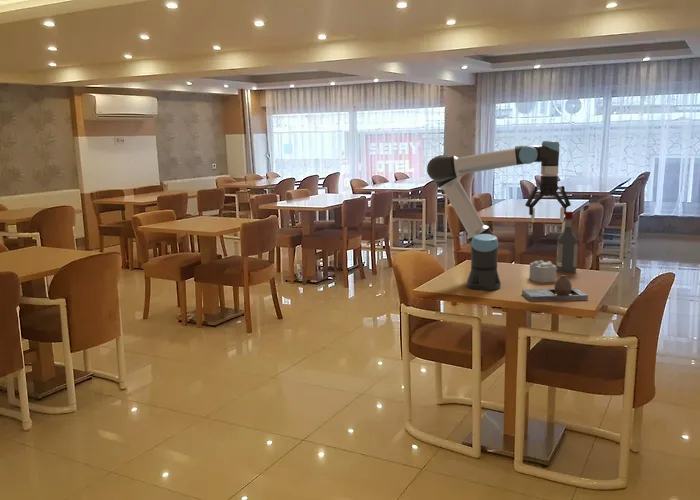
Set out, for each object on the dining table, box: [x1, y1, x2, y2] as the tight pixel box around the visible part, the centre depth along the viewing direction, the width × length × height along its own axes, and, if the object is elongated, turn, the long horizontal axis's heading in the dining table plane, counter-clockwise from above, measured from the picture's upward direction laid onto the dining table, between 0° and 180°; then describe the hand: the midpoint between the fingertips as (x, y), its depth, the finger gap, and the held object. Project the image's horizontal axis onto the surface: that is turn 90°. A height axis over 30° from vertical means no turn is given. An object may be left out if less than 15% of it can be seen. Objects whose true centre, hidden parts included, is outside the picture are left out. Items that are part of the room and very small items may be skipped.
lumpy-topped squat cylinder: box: [528, 259, 557, 283], centre depth 297 cm, size 10×13×9 cm
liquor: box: [555, 211, 579, 274], centre depth 313 cm, size 9×9×30 cm
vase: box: [554, 274, 573, 295], centre depth 264 cm, size 7×7×9 cm
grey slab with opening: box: [521, 288, 589, 302], centre depth 264 cm, size 24×12×2 cm, turn 92°
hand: (547, 221), depth 285 cm, fingers open, 13 cm apart
